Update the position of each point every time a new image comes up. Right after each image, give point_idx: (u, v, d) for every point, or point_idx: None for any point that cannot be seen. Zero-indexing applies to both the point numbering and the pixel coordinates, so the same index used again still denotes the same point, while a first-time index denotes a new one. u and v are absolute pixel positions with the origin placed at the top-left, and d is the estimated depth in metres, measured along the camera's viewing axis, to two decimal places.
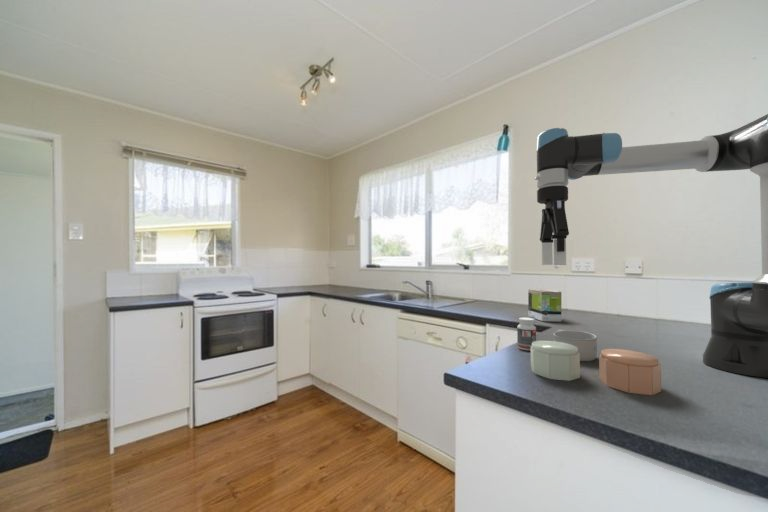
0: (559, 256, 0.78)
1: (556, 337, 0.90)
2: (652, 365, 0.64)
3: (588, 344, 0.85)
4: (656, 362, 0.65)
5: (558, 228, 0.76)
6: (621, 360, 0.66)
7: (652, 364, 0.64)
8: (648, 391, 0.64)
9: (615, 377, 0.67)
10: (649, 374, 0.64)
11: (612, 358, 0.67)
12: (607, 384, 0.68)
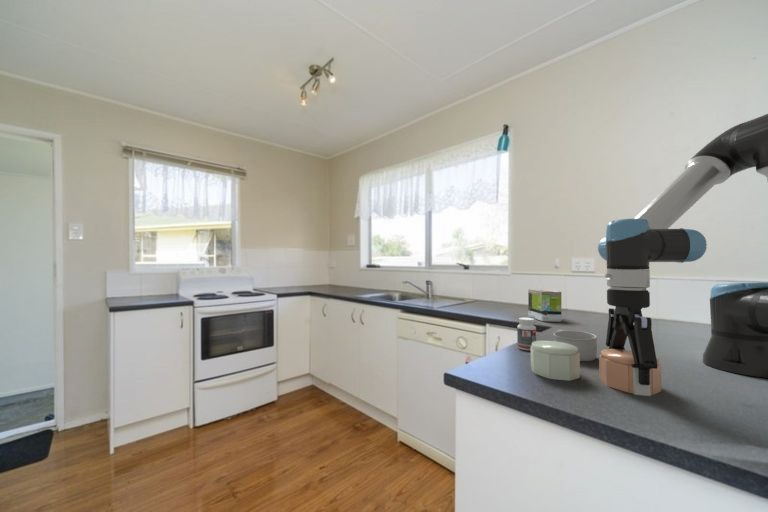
0: (642, 388, 0.63)
1: (556, 337, 0.90)
2: None
3: (588, 344, 0.85)
4: None
5: (643, 359, 0.61)
6: (621, 360, 0.66)
7: None
8: None
9: (615, 377, 0.67)
10: None
11: (612, 358, 0.67)
12: (607, 384, 0.68)
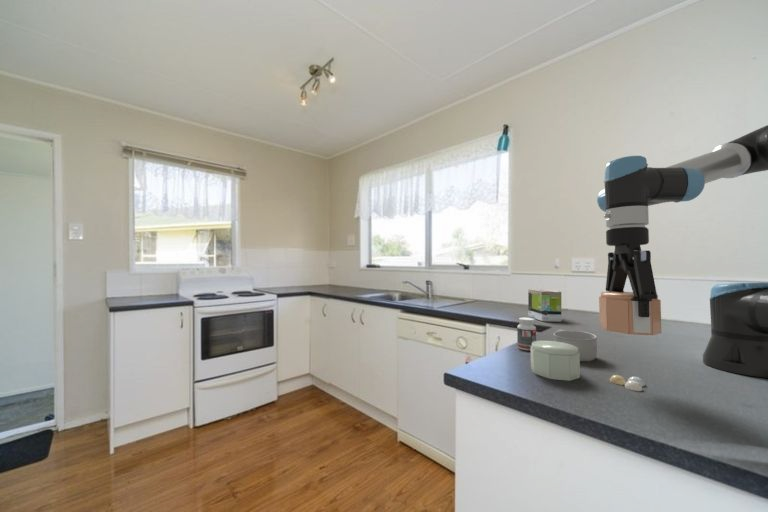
0: (642, 322, 0.64)
1: (556, 337, 0.90)
2: (652, 299, 0.64)
3: (588, 344, 0.85)
4: None
5: (643, 290, 0.61)
6: (621, 296, 0.66)
7: None
8: None
9: (615, 314, 0.67)
10: None
11: (612, 296, 0.68)
12: (607, 322, 0.68)
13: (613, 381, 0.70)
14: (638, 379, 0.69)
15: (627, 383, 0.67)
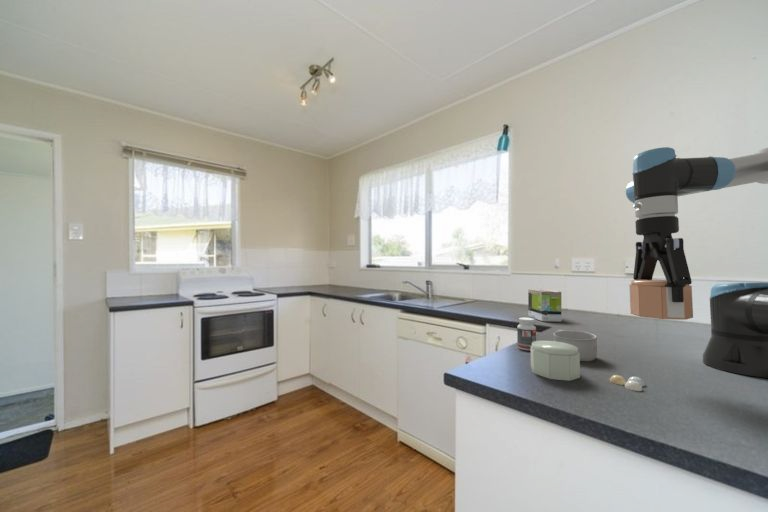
0: (676, 307, 0.66)
1: (556, 337, 0.90)
2: None
3: (588, 344, 0.85)
4: None
5: (677, 276, 0.64)
6: (653, 283, 0.69)
7: None
8: None
9: (648, 300, 0.69)
10: None
11: (644, 283, 0.70)
12: (640, 308, 0.71)
13: (613, 381, 0.70)
14: (638, 379, 0.69)
15: (627, 383, 0.67)
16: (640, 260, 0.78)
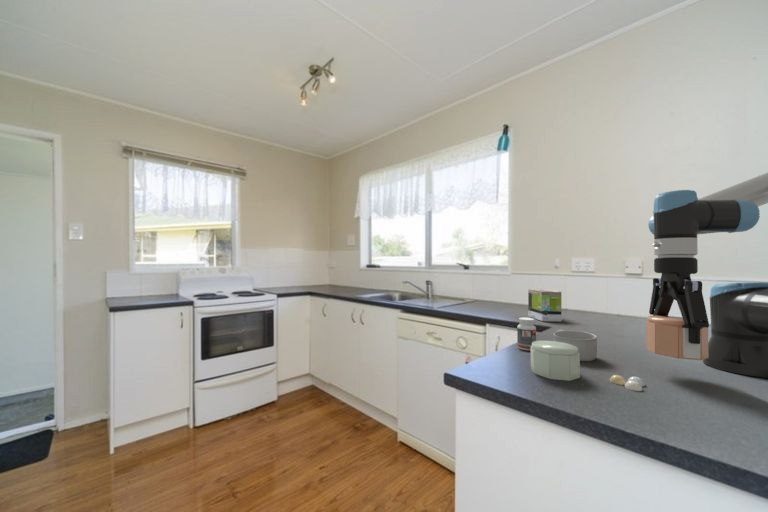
0: (692, 348, 0.68)
1: (556, 337, 0.90)
2: None
3: (588, 344, 0.85)
4: None
5: (695, 319, 0.66)
6: (670, 322, 0.70)
7: None
8: None
9: (664, 338, 0.71)
10: None
11: (661, 321, 0.72)
12: (656, 346, 0.72)
13: (613, 381, 0.70)
14: (638, 379, 0.69)
15: (627, 383, 0.67)
16: (657, 296, 0.80)
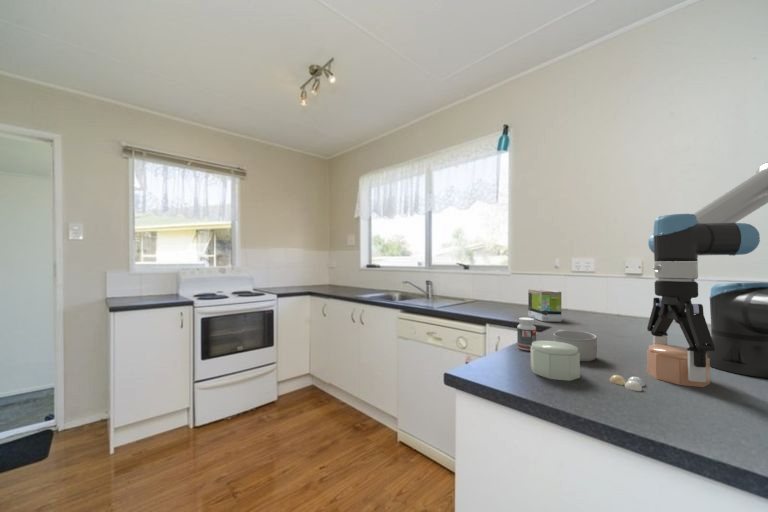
0: (697, 371, 0.66)
1: (556, 337, 0.90)
2: None
3: (588, 344, 0.85)
4: (706, 356, 0.69)
5: (700, 342, 0.64)
6: (672, 354, 0.70)
7: None
8: (699, 383, 0.68)
9: (665, 370, 0.71)
10: None
11: (662, 353, 0.72)
12: (657, 377, 0.72)
13: (613, 381, 0.70)
14: (638, 379, 0.69)
15: (627, 383, 0.67)
16: (656, 315, 0.80)
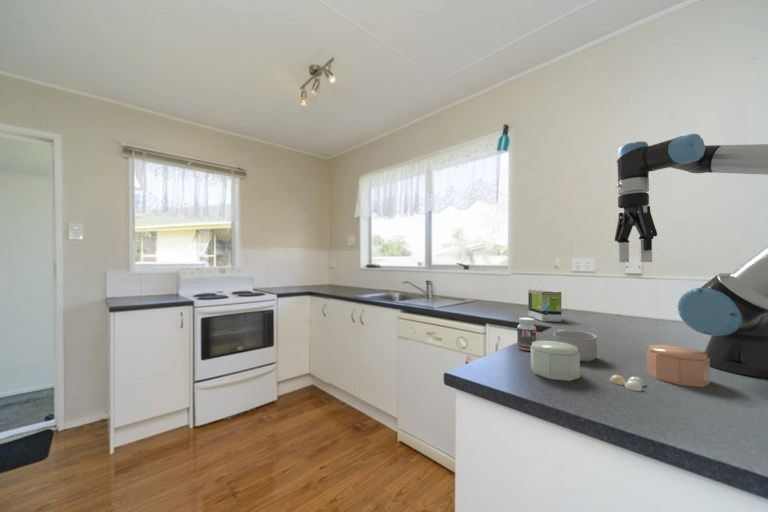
0: (646, 254, 0.89)
1: (556, 337, 0.90)
2: (702, 359, 0.68)
3: (588, 344, 0.85)
4: (706, 356, 0.69)
5: (647, 230, 0.87)
6: (672, 354, 0.70)
7: (702, 358, 0.68)
8: (699, 383, 0.68)
9: (665, 370, 0.71)
10: (700, 367, 0.68)
11: (662, 353, 0.72)
12: (657, 377, 0.72)
13: (613, 381, 0.70)
14: (638, 379, 0.69)
15: (627, 383, 0.67)
16: (620, 226, 1.03)
